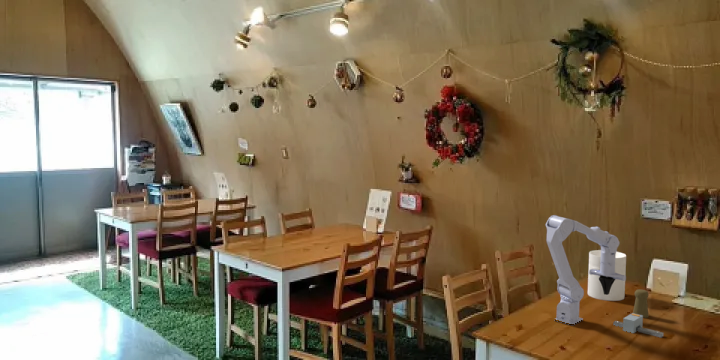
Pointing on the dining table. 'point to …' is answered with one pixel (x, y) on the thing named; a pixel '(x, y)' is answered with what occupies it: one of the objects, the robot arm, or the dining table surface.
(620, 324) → the rail
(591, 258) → the canister
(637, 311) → the cork
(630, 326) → the block
